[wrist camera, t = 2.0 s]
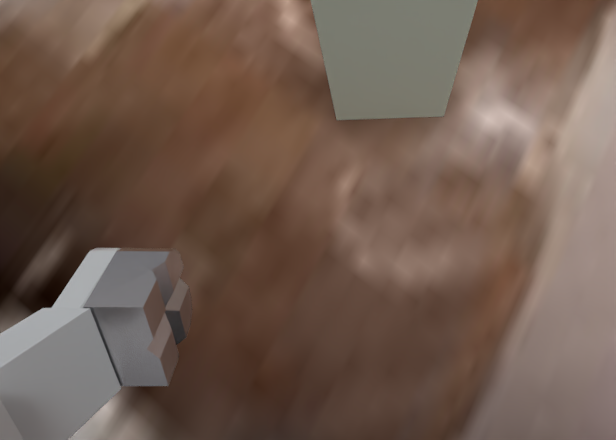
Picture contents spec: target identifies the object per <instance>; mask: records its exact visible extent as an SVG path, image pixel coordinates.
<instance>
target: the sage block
mask: <svg viewBox="0 0 616 440" xmlns="http://www.w3.org/2000/svg"><path fill="white" fill-rule="evenodd" d="M477 1H478V0H311V4H312V8H313V13H314V17H315V22H316V27H317V31H318V36H319V41H320V45H321V50H322V55H323V59H324V64H325V69H326V73H327V78H328V82H329V87H330V92H331V96H332V101H333V106H334V110H335V115H336V120H358V119H386V118H414V117H442V116H444V114H445V110H446V107H447V104H448V100H449V97H450V93H451V90H452V87H453V83H454V80H455V76H456V73H457V69H458V66H459V63H460V59H461V56H462V52H463V49H464V46H465V42H466V39H467V35H468V32H469V29H470V25H471V22H472V18H473V15H474V12H475V8H476V5H477Z"/></svg>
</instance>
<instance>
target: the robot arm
mask: <svg viewBox="0 0 616 440" xmlns="http://www.w3.org/2000/svg"><path fill="white" fill-rule="evenodd" d="M183 268H184V266H183V263H182V259H181V256H180V253H179V252H178V251H177V250H176V249H166V248H95V249H93V250H91V251H89V253H88V254H87V256H86V257H85V259H84V260H83V261H82V263H81V264H80V266H79V267H78V269H77V270H76V272H75V273H74V275H73V276H72V278H71V279H70V281H69V282H68V284H67V285H66V287H65V288H64V290H63V291H62V293H61V294H60V296H59V297H58V299H57V300H56V302H55V303H54V305H53V306H52V308H42V309H41V310H39V311H37V312H36V313H34V314H32V315H31V316H29V317H27V318H26V319H24V320H22V321H21V322H19V323H17V324H16V325H14V326H12V327H11V328H9V329H7V330H6V331H4V332H2V333H1V334H0V440H68V439H69V438H70V437H71V436H72V435H73V434H74V433H75V432H76V431H77V430H78V429H79V428H80V427H82V426H83V425H84V424H85V423H86V422H87V421H88V420H89V419H90V418H91V417H92V416H93V415H94V414H95V413H96V412H97V411H98V410H99V409H100V408H102V407H103V406H104V405H105V404H106V403H107V402H108V401H109V400H110V399H111V398H112V397H113V396H114V395H115V394H116V393H117V392H118V391H119V390H120V389H121V386H169V383H170V380H171V378H172V375H173V372H174V369H175V367H176V364H177V361H178V359H179V353H178V350H177V346H176V345H177V344H178V343H180V342H181V341H182V340H183V339H185V338H186V337H187V334H188V331H189V328H190V325H191V316H192V299H191V293H190V289H189V286H188V285H187V284H186V283H185V282H183V281H182V280H181V279H180V275H181V273H182V270H183Z"/></svg>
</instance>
